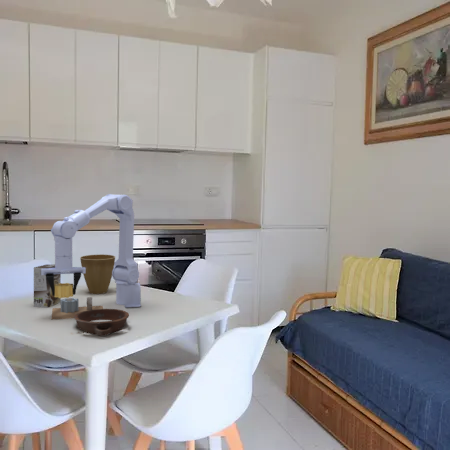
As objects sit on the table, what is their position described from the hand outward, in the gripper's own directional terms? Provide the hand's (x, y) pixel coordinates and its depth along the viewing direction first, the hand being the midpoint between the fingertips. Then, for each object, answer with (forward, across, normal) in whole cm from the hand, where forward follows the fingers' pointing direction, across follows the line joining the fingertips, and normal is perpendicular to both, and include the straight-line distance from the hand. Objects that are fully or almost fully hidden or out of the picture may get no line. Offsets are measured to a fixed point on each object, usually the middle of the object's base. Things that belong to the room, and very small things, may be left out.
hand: (63, 294), depth 168 cm
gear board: (+9, +5, +5) cm, 11 cm away
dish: (+9, +12, -14) cm, 21 cm away
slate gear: (+8, +2, +8) cm, 11 cm away
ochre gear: (0, 0, 0) cm, 0 cm away
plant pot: (+9, +14, +43) cm, 46 cm away
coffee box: (+9, -6, +20) cm, 23 cm away
